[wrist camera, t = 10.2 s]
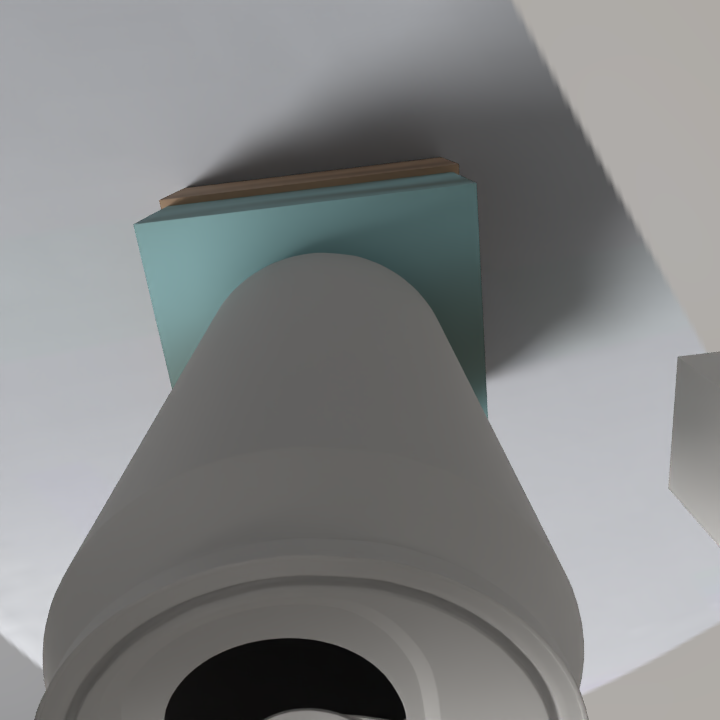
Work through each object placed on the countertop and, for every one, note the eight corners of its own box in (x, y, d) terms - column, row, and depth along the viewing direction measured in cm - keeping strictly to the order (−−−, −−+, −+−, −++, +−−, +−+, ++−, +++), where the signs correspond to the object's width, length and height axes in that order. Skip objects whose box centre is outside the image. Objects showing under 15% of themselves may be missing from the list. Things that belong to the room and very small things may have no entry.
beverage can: (386, 204, 16) (504, 401, 5) (478, 414, 18) (702, 883, 7) (163, 308, 17) (-171, 686, 6) (276, 499, 19) (193, 1045, 8)
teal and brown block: (184, 188, 23) (123, 217, 16) (440, 157, 23) (484, 173, 16) (231, 419, 26) (196, 522, 19) (456, 392, 26) (498, 486, 19)
